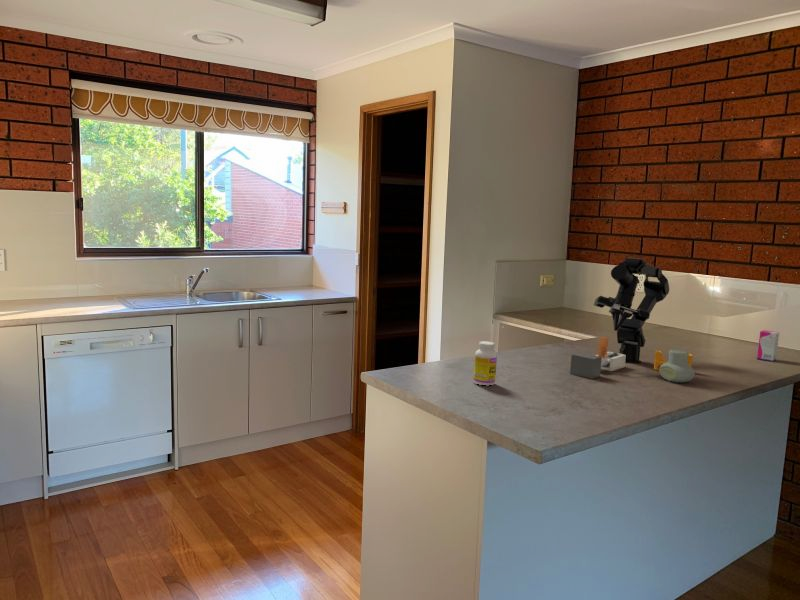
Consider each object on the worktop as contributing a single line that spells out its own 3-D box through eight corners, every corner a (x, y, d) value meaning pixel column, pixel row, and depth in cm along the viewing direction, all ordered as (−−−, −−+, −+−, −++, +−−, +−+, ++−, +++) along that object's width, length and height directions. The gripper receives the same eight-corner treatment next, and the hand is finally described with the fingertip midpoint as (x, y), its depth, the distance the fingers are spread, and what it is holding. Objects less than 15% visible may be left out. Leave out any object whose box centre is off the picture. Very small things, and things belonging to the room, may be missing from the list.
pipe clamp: (654, 370, 223) (656, 352, 223) (653, 368, 228) (655, 350, 227) (691, 374, 220) (693, 356, 219) (689, 372, 224) (691, 354, 223)
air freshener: (654, 377, 213) (657, 348, 212) (672, 375, 216) (675, 347, 215) (679, 385, 203) (683, 355, 202) (698, 384, 206) (701, 354, 205)
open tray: (607, 363, 231) (608, 351, 230) (624, 366, 226) (625, 354, 226) (594, 367, 223) (595, 355, 222) (611, 371, 219) (613, 358, 218)
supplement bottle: (489, 388, 189) (492, 346, 187) (469, 384, 193) (472, 342, 191) (498, 383, 195) (501, 342, 193) (478, 379, 198) (481, 339, 196)
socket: (578, 371, 216) (579, 352, 215) (600, 376, 210) (601, 356, 210) (569, 373, 212) (571, 354, 211) (592, 378, 206) (593, 359, 205)
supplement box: (776, 360, 252) (780, 331, 250) (772, 362, 247) (776, 333, 246) (760, 357, 256) (763, 329, 254) (756, 359, 251) (759, 331, 250)
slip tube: (609, 361, 228) (612, 333, 227) (619, 363, 226) (621, 335, 225) (589, 367, 217) (591, 338, 215) (598, 369, 214) (601, 340, 213)
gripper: (645, 303, 234) (634, 342, 231) (596, 287, 236) (584, 326, 233) (655, 296, 223) (643, 337, 220) (603, 280, 225) (591, 320, 223)
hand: (615, 330), depth 224 cm, fingers closed
